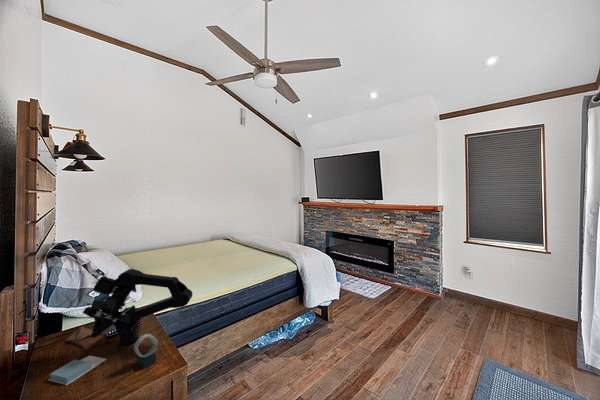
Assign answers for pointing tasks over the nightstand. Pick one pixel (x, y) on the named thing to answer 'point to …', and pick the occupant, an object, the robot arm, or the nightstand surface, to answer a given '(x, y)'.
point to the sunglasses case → (85, 338)
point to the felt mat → (89, 359)
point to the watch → (146, 352)
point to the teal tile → (70, 371)
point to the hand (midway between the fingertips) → (92, 337)
